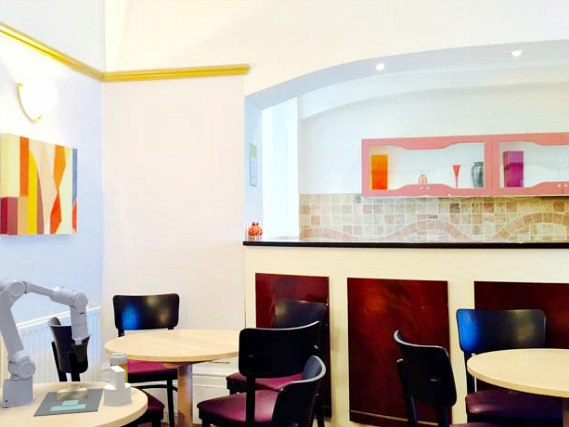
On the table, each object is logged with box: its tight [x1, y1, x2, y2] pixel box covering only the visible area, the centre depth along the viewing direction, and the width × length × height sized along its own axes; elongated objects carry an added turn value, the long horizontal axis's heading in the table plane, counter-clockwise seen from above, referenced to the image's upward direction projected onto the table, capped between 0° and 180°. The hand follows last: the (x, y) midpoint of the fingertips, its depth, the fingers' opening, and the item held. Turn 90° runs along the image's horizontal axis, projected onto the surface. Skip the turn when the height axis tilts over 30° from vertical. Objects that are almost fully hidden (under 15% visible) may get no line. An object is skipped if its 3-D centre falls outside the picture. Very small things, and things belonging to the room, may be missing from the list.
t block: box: [56, 383, 89, 401], centre depth 209 cm, size 10×10×3 cm
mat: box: [33, 387, 104, 418], centre depth 203 cm, size 20×28×1 cm
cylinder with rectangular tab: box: [103, 366, 132, 407], centre depth 201 cm, size 9×9×12 cm
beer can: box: [109, 351, 129, 383], centre depth 212 cm, size 6×6×15 cm
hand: (82, 358), depth 219 cm, fingers open, 7 cm apart
